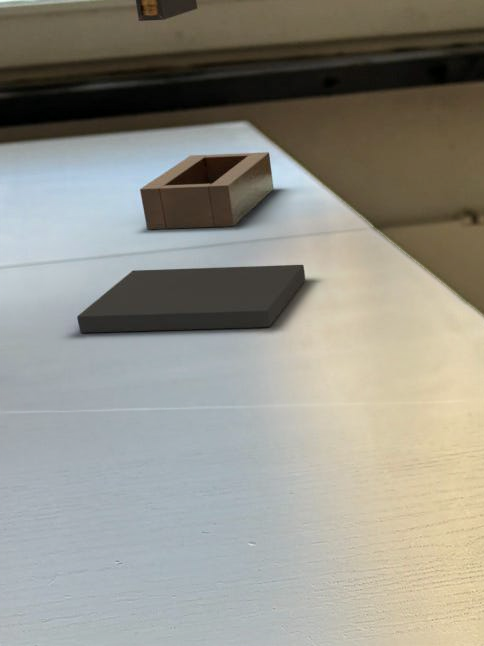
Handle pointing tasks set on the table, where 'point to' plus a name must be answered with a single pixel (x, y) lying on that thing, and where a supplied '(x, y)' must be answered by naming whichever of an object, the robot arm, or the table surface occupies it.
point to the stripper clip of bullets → (163, 8)
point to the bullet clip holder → (207, 191)
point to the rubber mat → (194, 299)
